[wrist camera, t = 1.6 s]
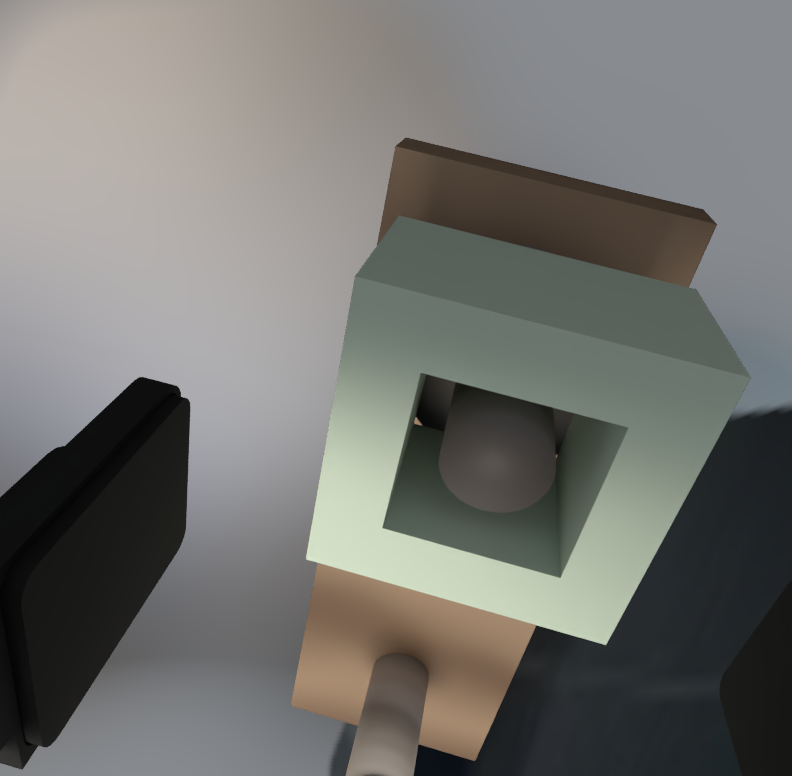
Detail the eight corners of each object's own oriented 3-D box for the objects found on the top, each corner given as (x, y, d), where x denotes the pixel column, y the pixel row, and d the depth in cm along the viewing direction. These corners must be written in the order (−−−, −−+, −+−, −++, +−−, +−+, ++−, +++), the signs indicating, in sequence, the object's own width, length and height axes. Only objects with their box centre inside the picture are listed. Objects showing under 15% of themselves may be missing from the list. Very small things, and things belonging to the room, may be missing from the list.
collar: (591, 519, 17) (605, 645, 13) (351, 453, 17) (305, 559, 14) (696, 289, 14) (750, 377, 10) (398, 215, 14) (355, 276, 11)
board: (477, 727, 29) (459, 949, 22) (301, 675, 29) (229, 876, 22) (703, 209, 17) (817, 332, 10) (406, 137, 18) (322, 208, 11)
